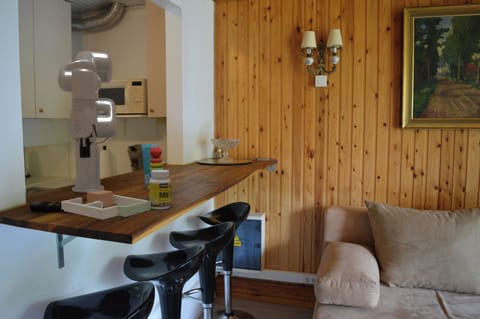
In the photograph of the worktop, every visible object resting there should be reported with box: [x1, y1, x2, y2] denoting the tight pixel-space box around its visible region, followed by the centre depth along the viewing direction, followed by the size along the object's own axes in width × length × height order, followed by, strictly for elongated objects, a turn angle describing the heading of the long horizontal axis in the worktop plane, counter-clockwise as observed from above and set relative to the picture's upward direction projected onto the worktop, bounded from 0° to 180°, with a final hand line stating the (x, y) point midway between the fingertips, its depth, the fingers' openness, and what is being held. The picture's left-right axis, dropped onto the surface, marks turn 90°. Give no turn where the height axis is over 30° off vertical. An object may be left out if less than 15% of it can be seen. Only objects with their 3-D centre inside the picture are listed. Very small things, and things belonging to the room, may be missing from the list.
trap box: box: [61, 194, 152, 221], centre depth 121 cm, size 24×17×3 cm
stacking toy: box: [147, 146, 164, 190], centre depth 158 cm, size 8×8×19 cm
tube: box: [140, 143, 159, 187], centre depth 168 cm, size 7×5×19 cm, turn 109°
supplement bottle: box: [148, 169, 172, 210], centre depth 125 cm, size 7×7×13 cm
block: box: [86, 189, 114, 208], centre depth 126 cm, size 6×6×5 cm
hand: (85, 157), depth 128 cm, fingers closed
